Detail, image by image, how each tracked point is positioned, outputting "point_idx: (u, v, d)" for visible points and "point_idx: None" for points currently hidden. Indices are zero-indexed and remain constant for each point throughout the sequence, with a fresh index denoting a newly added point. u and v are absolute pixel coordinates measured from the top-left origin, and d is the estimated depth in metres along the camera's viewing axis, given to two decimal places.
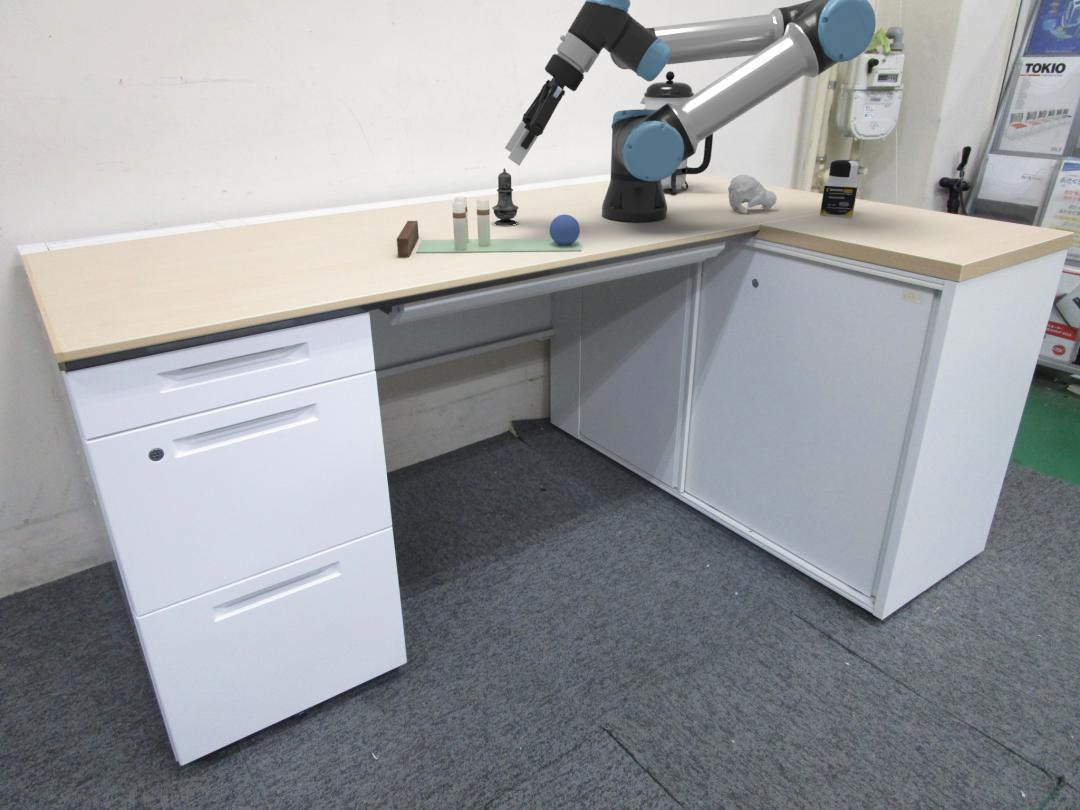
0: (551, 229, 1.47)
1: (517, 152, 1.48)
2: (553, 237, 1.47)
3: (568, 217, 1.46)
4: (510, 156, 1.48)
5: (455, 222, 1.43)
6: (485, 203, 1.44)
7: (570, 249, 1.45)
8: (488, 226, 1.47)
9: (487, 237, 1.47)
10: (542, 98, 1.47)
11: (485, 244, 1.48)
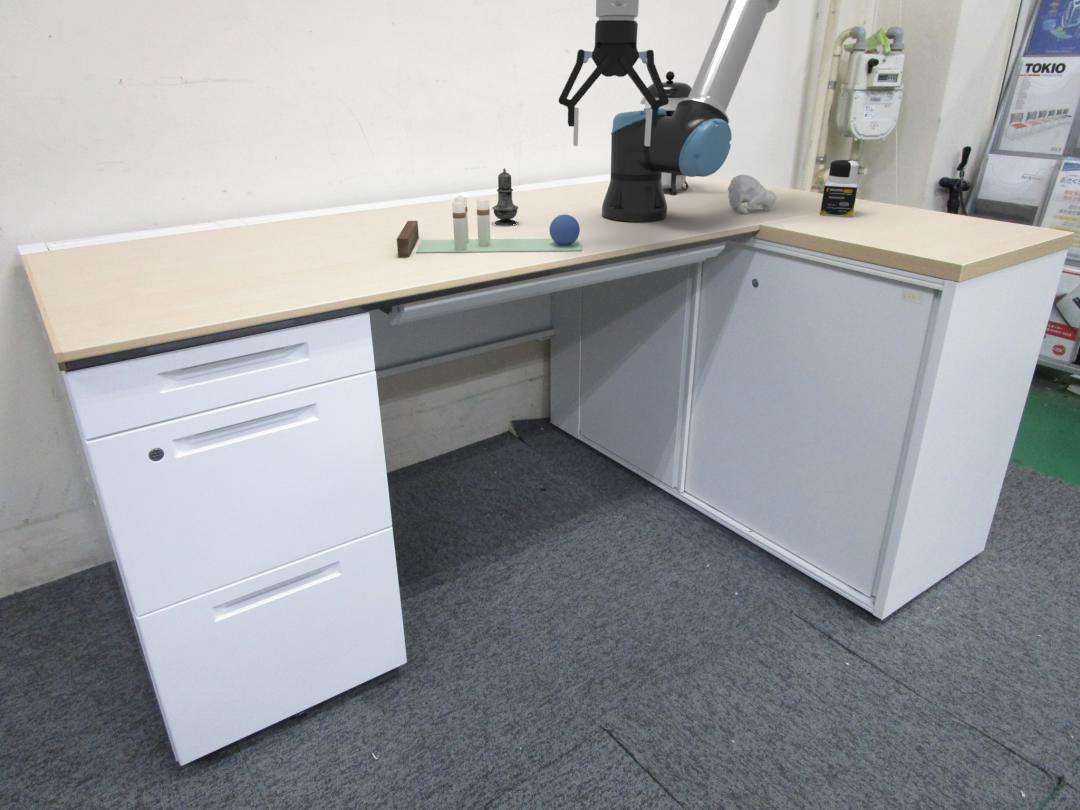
0: (551, 229, 1.47)
1: None
2: (553, 237, 1.47)
3: (568, 217, 1.46)
4: (649, 143, 1.40)
5: (455, 222, 1.43)
6: (485, 203, 1.44)
7: (570, 249, 1.45)
8: (488, 226, 1.47)
9: (487, 237, 1.47)
10: (635, 71, 1.35)
11: (485, 244, 1.48)
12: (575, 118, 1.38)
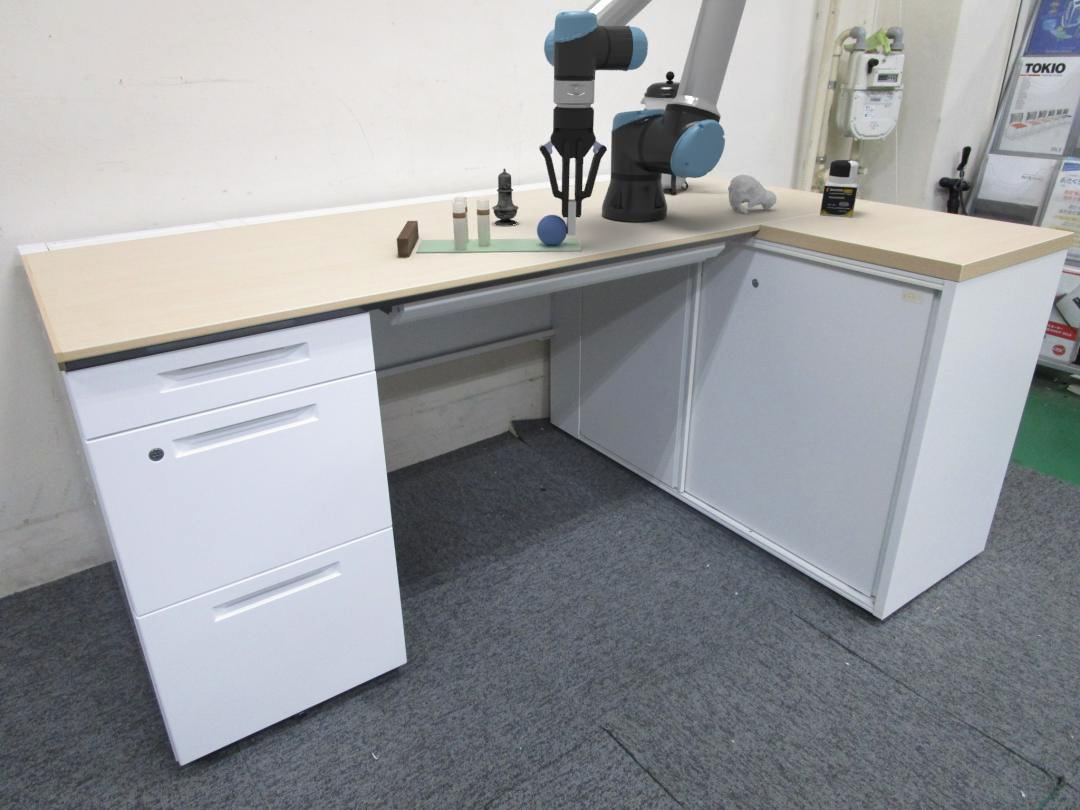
0: (539, 237, 1.47)
1: None
2: (545, 243, 1.47)
3: (548, 218, 1.46)
4: None
5: (455, 222, 1.43)
6: (485, 203, 1.44)
7: (570, 249, 1.45)
8: (488, 226, 1.47)
9: (487, 237, 1.47)
10: None
11: (485, 244, 1.48)
12: (569, 210, 1.45)
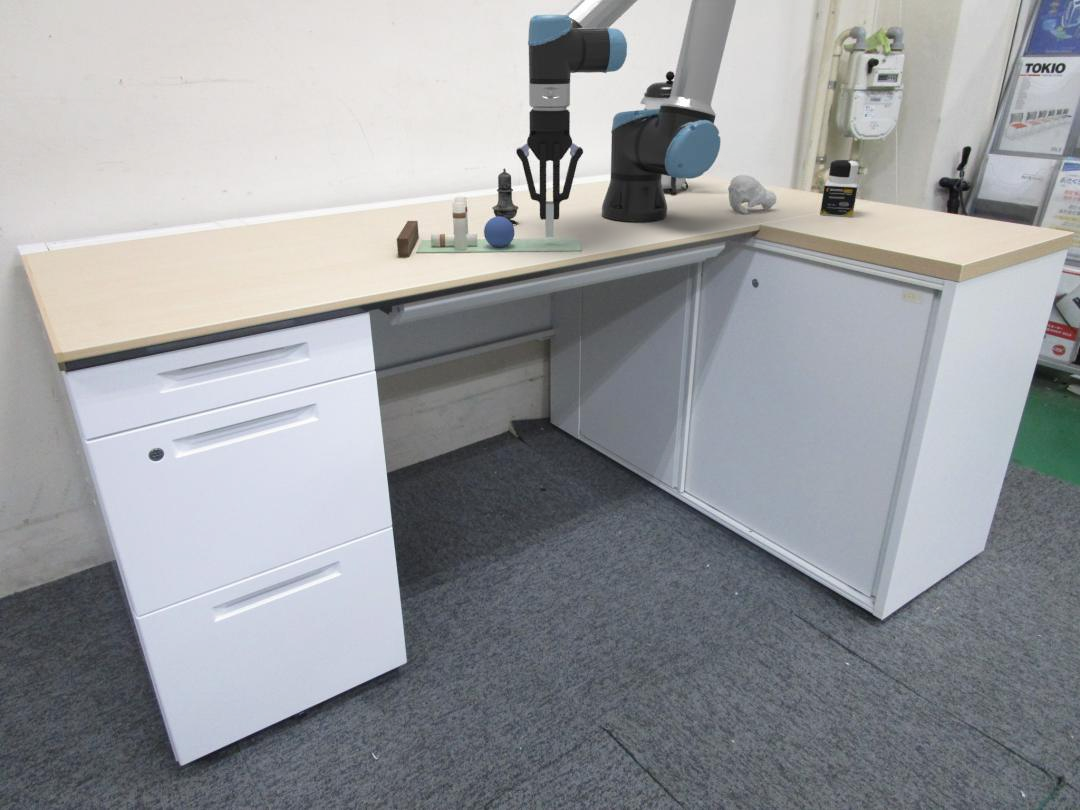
0: (510, 226, 1.45)
1: None
2: (503, 223, 1.44)
3: None
4: None
5: (455, 222, 1.43)
6: (433, 240, 1.46)
7: (570, 249, 1.45)
8: None
9: (467, 238, 1.47)
10: (559, 163, 1.41)
11: (474, 241, 1.47)
12: (547, 212, 1.45)
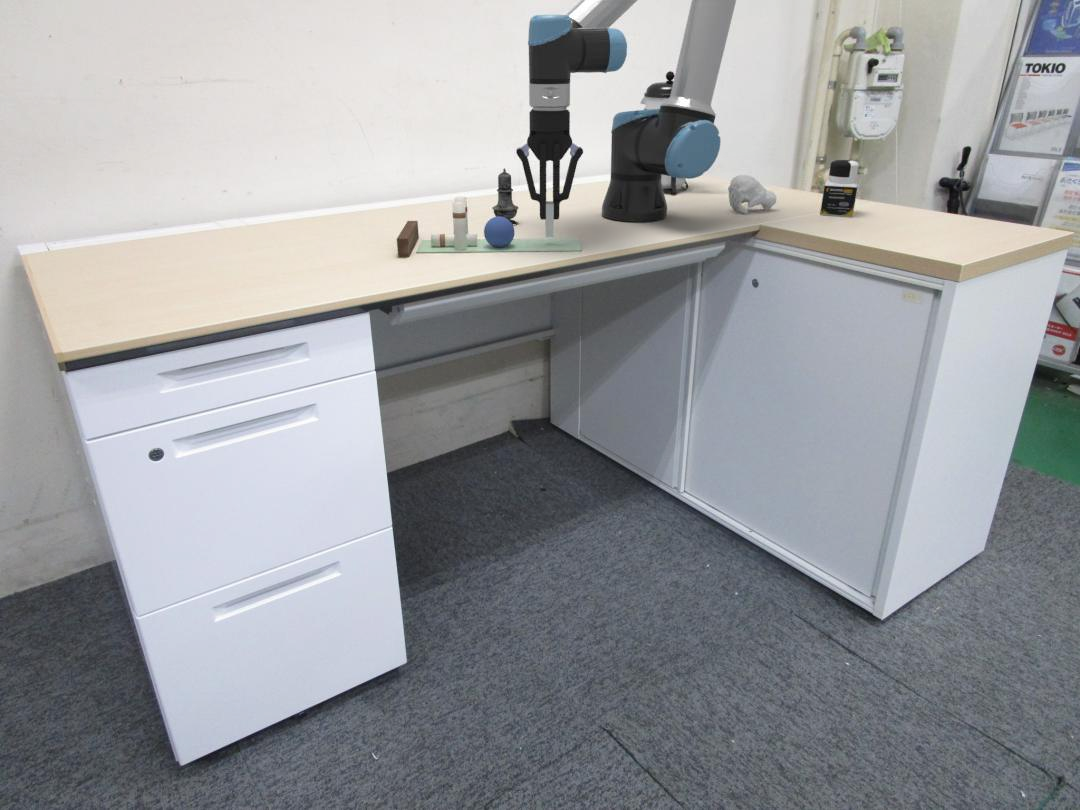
0: (510, 226, 1.45)
1: None
2: (503, 223, 1.44)
3: None
4: None
5: (455, 222, 1.43)
6: (433, 240, 1.46)
7: (570, 249, 1.45)
8: None
9: (467, 238, 1.47)
10: (559, 163, 1.41)
11: (474, 241, 1.47)
12: (547, 212, 1.45)
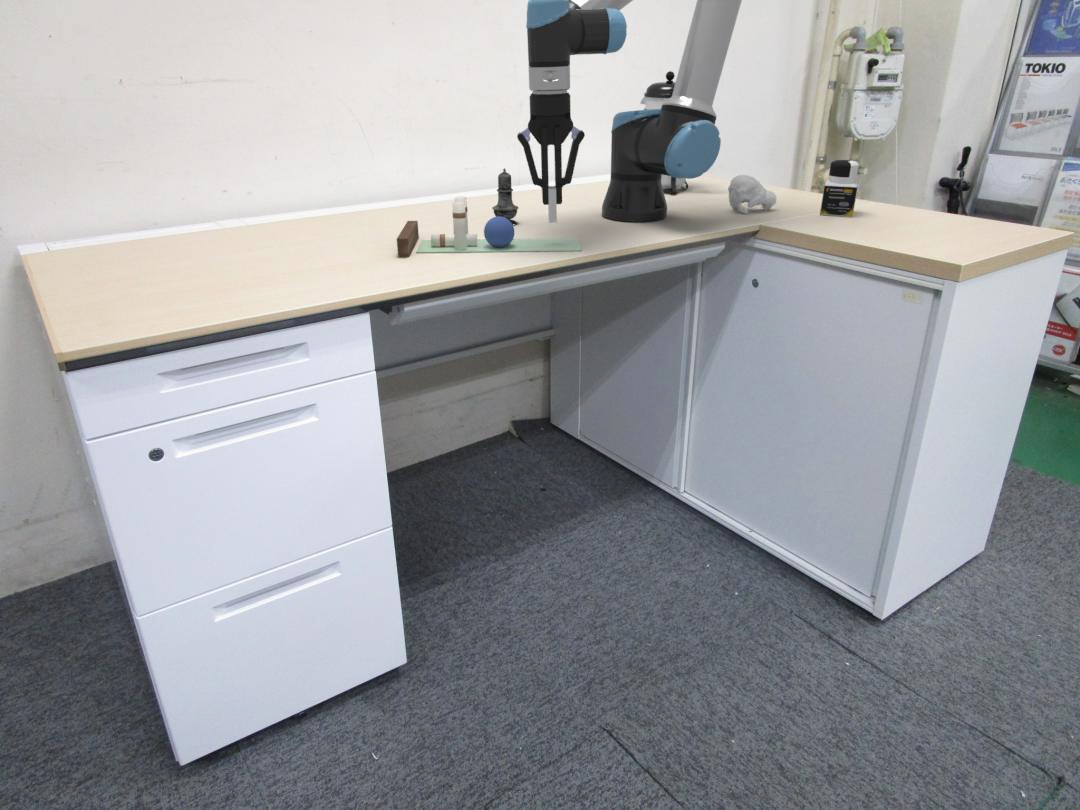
0: (510, 226, 1.45)
1: None
2: (503, 223, 1.44)
3: None
4: (556, 219, 1.46)
5: (455, 222, 1.43)
6: (433, 240, 1.46)
7: (570, 249, 1.45)
8: None
9: (467, 238, 1.47)
10: None
11: (474, 241, 1.47)
12: (549, 197, 1.44)
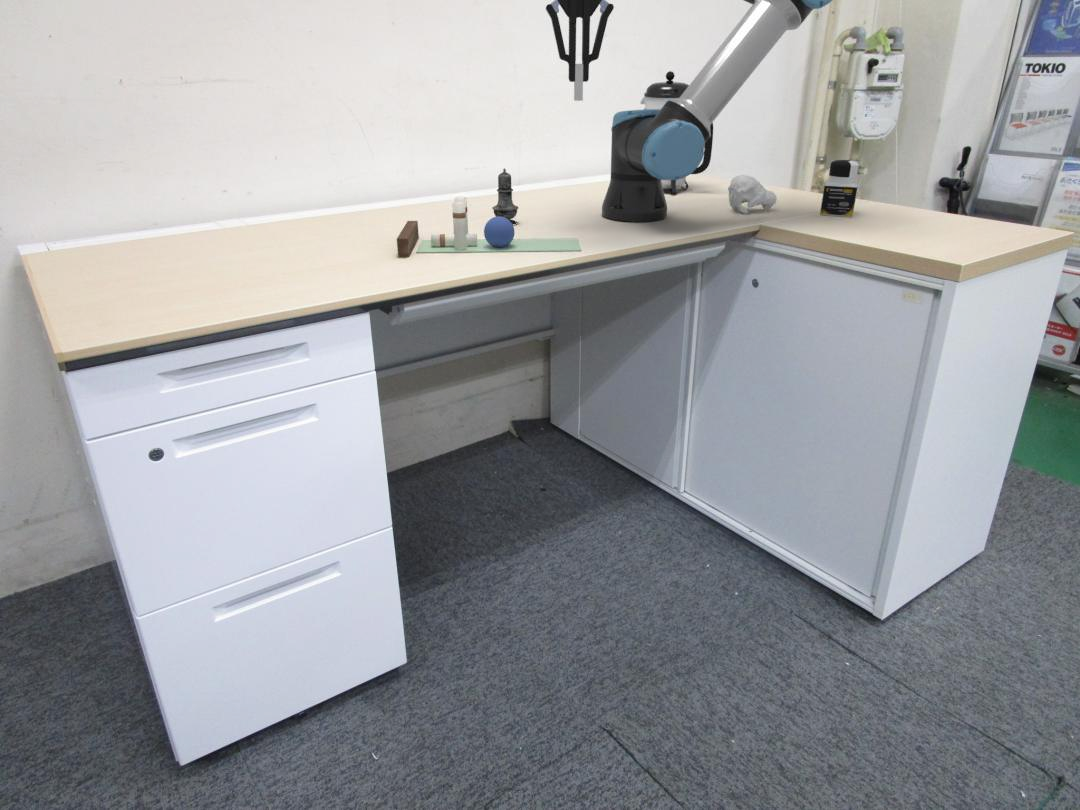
0: (510, 226, 1.45)
1: None
2: (503, 223, 1.44)
3: None
4: None
5: (455, 222, 1.43)
6: (433, 240, 1.46)
7: (570, 249, 1.45)
8: None
9: (467, 238, 1.47)
10: None
11: (474, 241, 1.47)
12: (576, 73, 1.44)
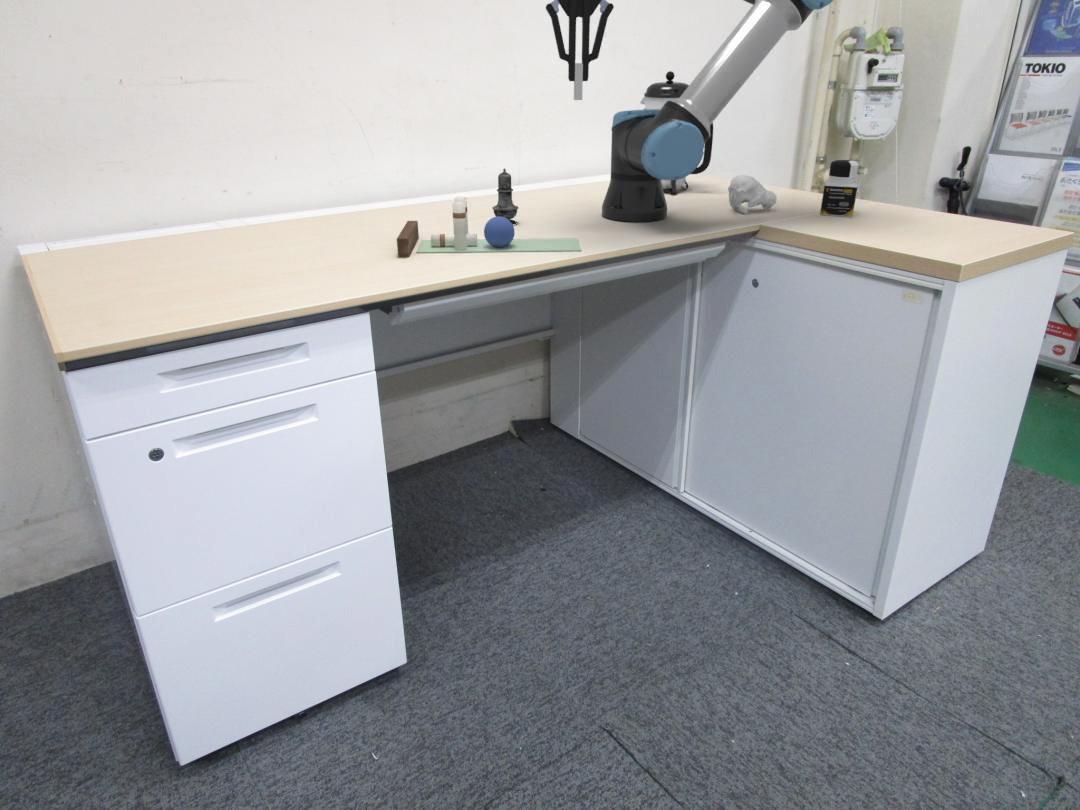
0: (510, 226, 1.45)
1: None
2: (503, 223, 1.44)
3: None
4: None
5: (455, 222, 1.43)
6: (433, 240, 1.46)
7: (570, 249, 1.45)
8: None
9: (467, 238, 1.47)
10: (589, 18, 1.40)
11: (474, 241, 1.47)
12: (576, 73, 1.44)
